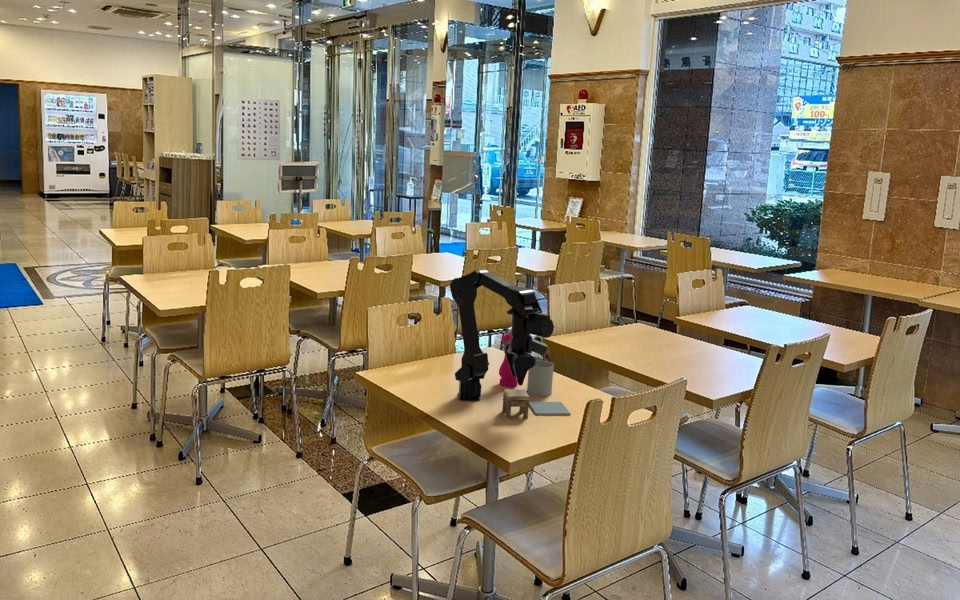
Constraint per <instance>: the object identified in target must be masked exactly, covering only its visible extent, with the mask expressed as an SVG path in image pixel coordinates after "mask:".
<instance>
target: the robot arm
mask: <svg viewBox="0 0 960 600" xmlns="http://www.w3.org/2000/svg"><path fill="white" fill-rule="evenodd" d="M482 286H483V287H484V288H486V289H488V290H489V291H491V292H493V293H495V294H497V295H499V297H502V298H503V299H505V302H506V304H507V305H509V306H510V307H511V308H510V309H508V310H507V311H506V314H507V315H510V316H511V318H512V319H511V328H510V329H511V332H510V331H509V333H510V336H511V341H506V342H505V343H503V351H504V356H505V355H506V358H507V361H508V364H509V367H510V370H511V373H512V376H516V378H517V382H518V385H517V386H523V385H524V381H525V378H526V377H527V376H526V375H528V374H527V373H528V371H529V369H530V368H533V367H534V366H535V365H536V358H535V357H534V356H533V353H532V352H534V353H535V354H538V355H540V356H542V357H545V355H546V353H547V351H548V349H549V346H548V345H547V344H546V343H544V342H542V338H544V339H548V338H550V337H551V336H552V334H553V332H554V330H555V329H554V328H555V324H554V322H553V320H552V319H551V314H548V313H543V310H542V308H541V306H540V303H539V301H538V299H537V297H536V292H535V291H534V290H533V289H531V288H529V287H524V286H518V285H514V284H511V283H510V282H508V281H505V280H504V279H503V278H500V277H499V276H497V275H494V274H493V273H491V272H489V270H487V269H484V268H483V269H476V270H474V271H471V272H470V273H468V274H465V275H463V276H461V277H455V278H453V279H452V280H451V282H450V283H449V288H450V289H449V291H450V295H451V298H452V299H453V301H454V302H455V303H456V305H457V306H458V311H459V312H458V313H459V319H460V326H461V332H462V335H461V336H462V340H463V348H464V351H463V354H462V357H461V367H460V368H458V370H456V372H454V379H455V381H458V392H457V396H458V399H459V401H481V396H482V383H481V381H480V380H483V379H485V376H486V374H487V373H488V371H489V366H490V362H489V355H488V353H487V352H484V351H483V350H482V349H481V347H480V346H481V345H480V340H479V339H480V338H479V331H478V325H477V318H476V311H475V301H476V298H477V296H478V288H480V287H482ZM532 335H533V336H534V337H533V336H532Z"/></svg>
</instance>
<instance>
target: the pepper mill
mask: <svg viewBox="0 0 960 600" xmlns="http://www.w3.org/2000/svg"><path fill="white" fill-rule="evenodd" d="M511 329H512V328H510V329H509V332H507V333H505V334H504V336H503V337H502V344H504V343H505V342H506V341H511V336H510V332H511ZM498 376H500V378H499V386H501V387H504V388H516V387H517V386H519V385H518V382H517V378H516V376H512V373H511V370H510V367H509V364H508V361H507V358H506V355H505V354H504V358H503V361H502V363H501V364H500V367H499V369H498Z"/></svg>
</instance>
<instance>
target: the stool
mask: <svg viewBox="0 0 960 600" xmlns="http://www.w3.org/2000/svg"><path fill="white" fill-rule="evenodd" d="M529 402H530V394H529V393H527V390H526V389H510V388H509V389H503V398H502V409H501V410H502V413H505V418H506V419H511V413H512V408H513V407H514V408H515V407H516V408H517V407H518V408H519V413H523V414H522V418H523V419H529V418H528V417H529V407H530V406H529Z"/></svg>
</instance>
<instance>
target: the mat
mask: <svg viewBox="0 0 960 600" xmlns="http://www.w3.org/2000/svg"><path fill="white" fill-rule="evenodd" d="M529 407H530V409H531V410H532V412H533V414H535V416H571V411H569V410H568V409H567V407H566V406H565V405H564V403H563V402H562V401H529Z"/></svg>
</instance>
